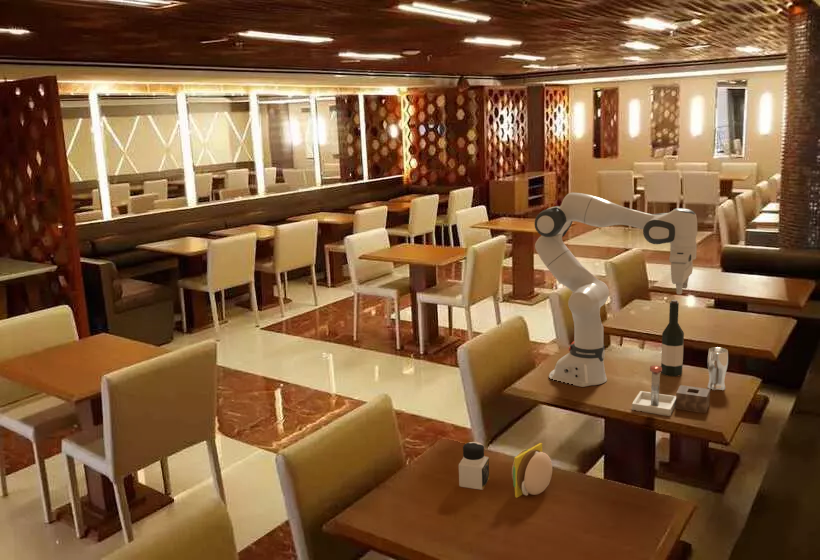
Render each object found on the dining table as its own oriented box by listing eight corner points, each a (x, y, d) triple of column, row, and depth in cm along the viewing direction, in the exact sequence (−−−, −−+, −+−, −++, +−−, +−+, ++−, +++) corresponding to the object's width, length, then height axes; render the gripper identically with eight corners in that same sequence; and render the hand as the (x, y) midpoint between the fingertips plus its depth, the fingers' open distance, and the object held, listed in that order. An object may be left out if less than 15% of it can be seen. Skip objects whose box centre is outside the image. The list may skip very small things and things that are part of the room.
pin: (647, 405, 254) (648, 368, 250) (650, 401, 257) (651, 364, 254) (659, 407, 252) (660, 369, 248) (661, 403, 255) (663, 366, 252)
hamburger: (532, 504, 194) (532, 464, 192) (508, 494, 200) (507, 454, 198) (557, 487, 202) (558, 448, 200) (534, 478, 208) (533, 440, 206)
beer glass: (722, 384, 272) (724, 347, 268) (729, 391, 265) (731, 353, 262) (703, 384, 272) (705, 347, 269) (709, 391, 266) (711, 353, 262)
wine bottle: (656, 372, 286) (658, 300, 280) (667, 367, 292) (670, 296, 285) (675, 378, 280) (678, 304, 274) (686, 372, 285) (689, 300, 279)
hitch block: (675, 408, 252) (676, 392, 250) (679, 400, 258) (680, 385, 257) (705, 413, 247) (706, 397, 245) (709, 405, 253) (710, 389, 252)
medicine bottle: (482, 490, 203) (481, 451, 200) (459, 486, 205) (457, 448, 203) (489, 478, 209) (488, 441, 207) (466, 475, 212) (465, 438, 209)
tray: (631, 410, 252) (631, 403, 252) (640, 397, 263) (640, 390, 263) (670, 416, 246) (670, 409, 245) (677, 402, 257) (677, 396, 256)
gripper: (679, 248, 266) (678, 284, 269) (668, 258, 249) (667, 296, 252) (697, 248, 262) (696, 285, 265) (687, 259, 245) (685, 298, 248)
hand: (682, 290), depth 258 cm, fingers open, 8 cm apart
